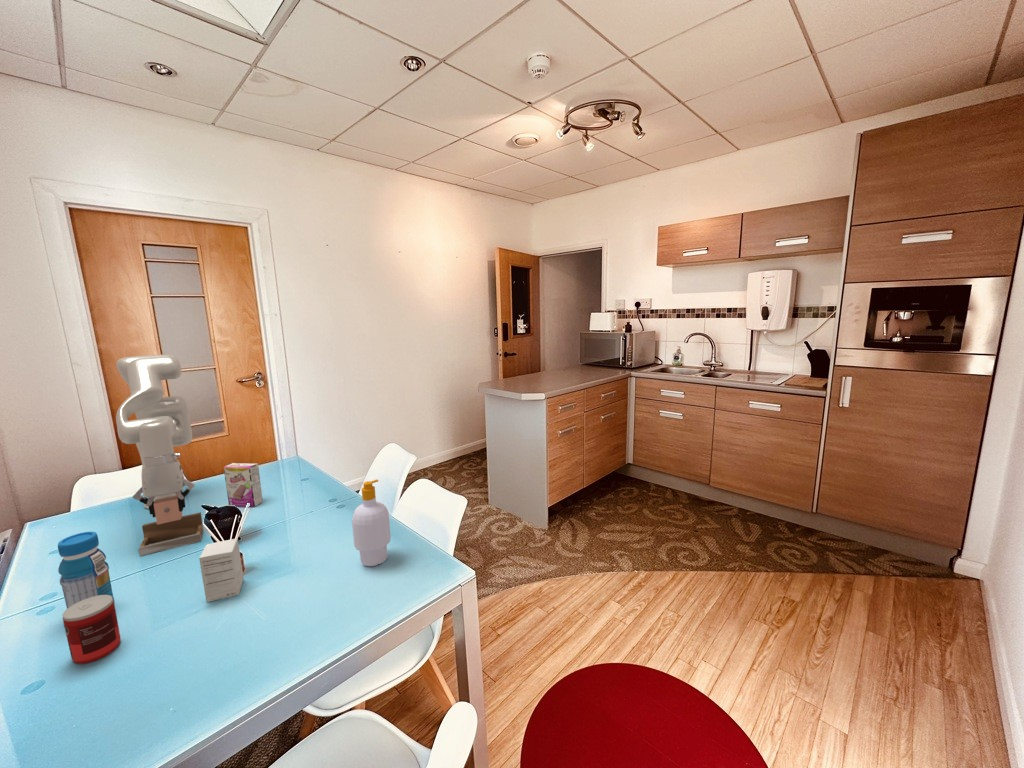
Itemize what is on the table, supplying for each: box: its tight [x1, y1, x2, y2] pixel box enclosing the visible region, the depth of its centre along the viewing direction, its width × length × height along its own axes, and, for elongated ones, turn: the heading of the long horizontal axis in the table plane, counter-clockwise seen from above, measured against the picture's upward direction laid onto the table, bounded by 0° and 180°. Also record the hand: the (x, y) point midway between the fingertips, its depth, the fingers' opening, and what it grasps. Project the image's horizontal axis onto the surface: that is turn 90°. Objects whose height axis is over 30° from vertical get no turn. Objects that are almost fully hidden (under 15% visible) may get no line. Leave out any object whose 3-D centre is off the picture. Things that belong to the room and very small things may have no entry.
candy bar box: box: [223, 462, 264, 508], centre depth 162 cm, size 11×5×16 cm, turn 84°
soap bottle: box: [351, 479, 391, 567], centre depth 121 cm, size 10×10×24 cm
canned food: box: [62, 595, 122, 665], centre depth 90 cm, size 8×8×11 cm
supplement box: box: [198, 538, 244, 603], centre depth 110 cm, size 7×7×13 cm
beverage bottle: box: [57, 531, 116, 609], centre depth 102 cm, size 8×8×20 cm
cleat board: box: [138, 512, 204, 557], centre depth 135 cm, size 9×15×6 cm, turn 122°
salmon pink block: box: [154, 495, 183, 525], centre depth 134 cm, size 5×6×7 cm
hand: (168, 512), depth 134 cm, fingers closed on salmon pink block, 6 cm apart
